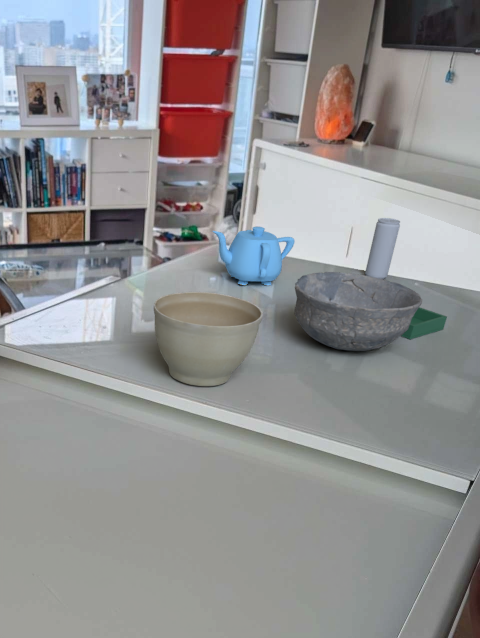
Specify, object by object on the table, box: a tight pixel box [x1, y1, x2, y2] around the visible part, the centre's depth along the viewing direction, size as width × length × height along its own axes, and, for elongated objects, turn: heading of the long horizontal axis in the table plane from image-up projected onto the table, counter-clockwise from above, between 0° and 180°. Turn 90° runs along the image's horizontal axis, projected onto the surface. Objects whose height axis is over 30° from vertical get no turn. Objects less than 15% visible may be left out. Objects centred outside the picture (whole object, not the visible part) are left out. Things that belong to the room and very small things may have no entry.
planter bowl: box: [153, 291, 264, 387], centre depth 116 cm, size 16×16×11 cm
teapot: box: [211, 226, 296, 286], centre depth 159 cm, size 13×14×11 cm
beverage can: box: [364, 217, 401, 280], centre depth 165 cm, size 5×5×12 cm
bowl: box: [294, 271, 423, 352], centre depth 129 cm, size 21×21×10 cm
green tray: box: [400, 306, 448, 340], centre depth 141 cm, size 10×10×2 cm
